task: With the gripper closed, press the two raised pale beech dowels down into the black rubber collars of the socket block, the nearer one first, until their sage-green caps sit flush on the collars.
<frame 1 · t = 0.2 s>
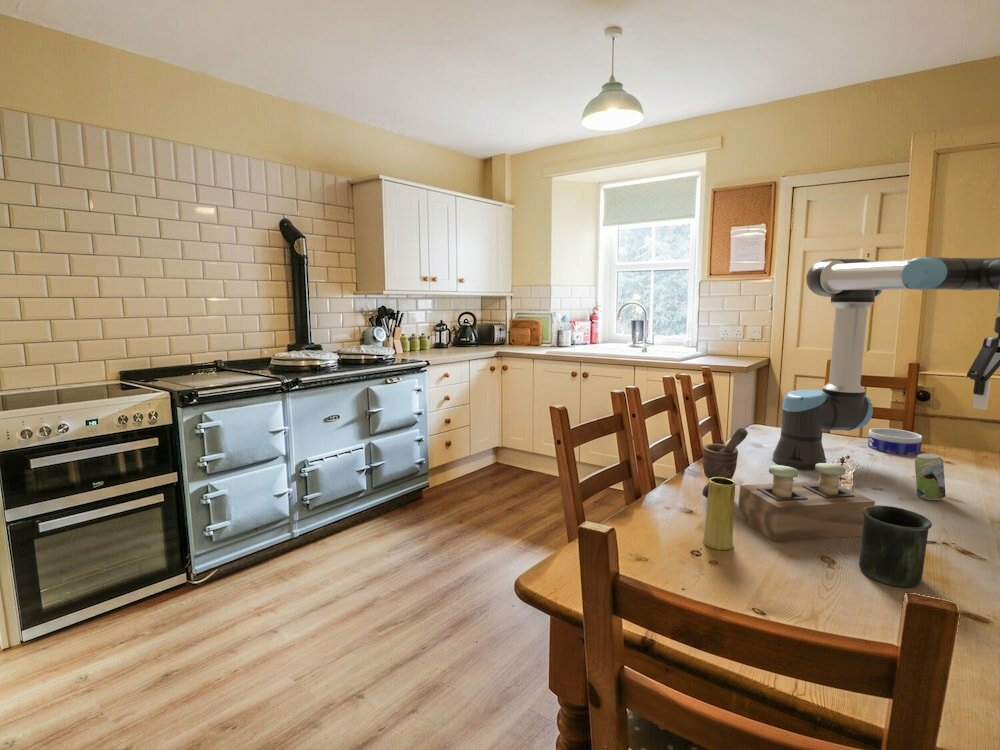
mug: (889, 572, 108), on the table
socket block: (801, 525, 129), on the table
dog bowl: (893, 450, 194), on the table
vase: (717, 545, 119), on the table
mortar and pestle: (723, 497, 147), on the table
peg b: (828, 483, 129), point 10 cm above the table, slide at 0.0 cm
beverage can: (927, 498, 147), on the table
peg a: (782, 486, 127), point 10 cm above the table, slide at 0.0 cm
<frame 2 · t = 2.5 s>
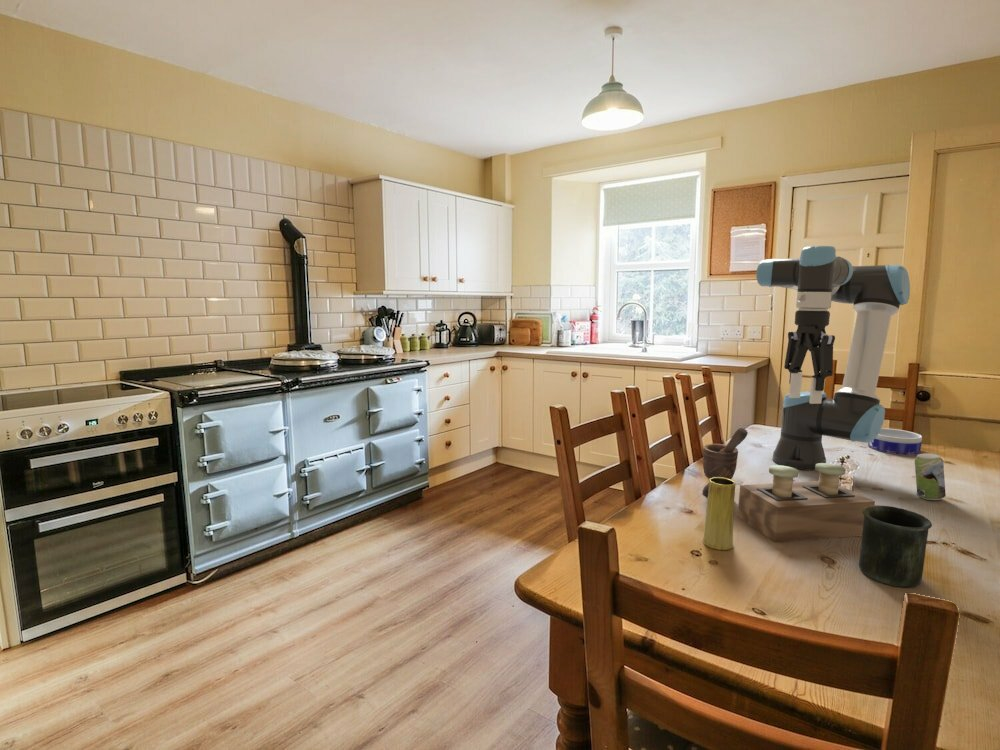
hand: (804, 400, 140), 27 cm above the table, fingers open, 7 cm apart
nothing on the table moved.
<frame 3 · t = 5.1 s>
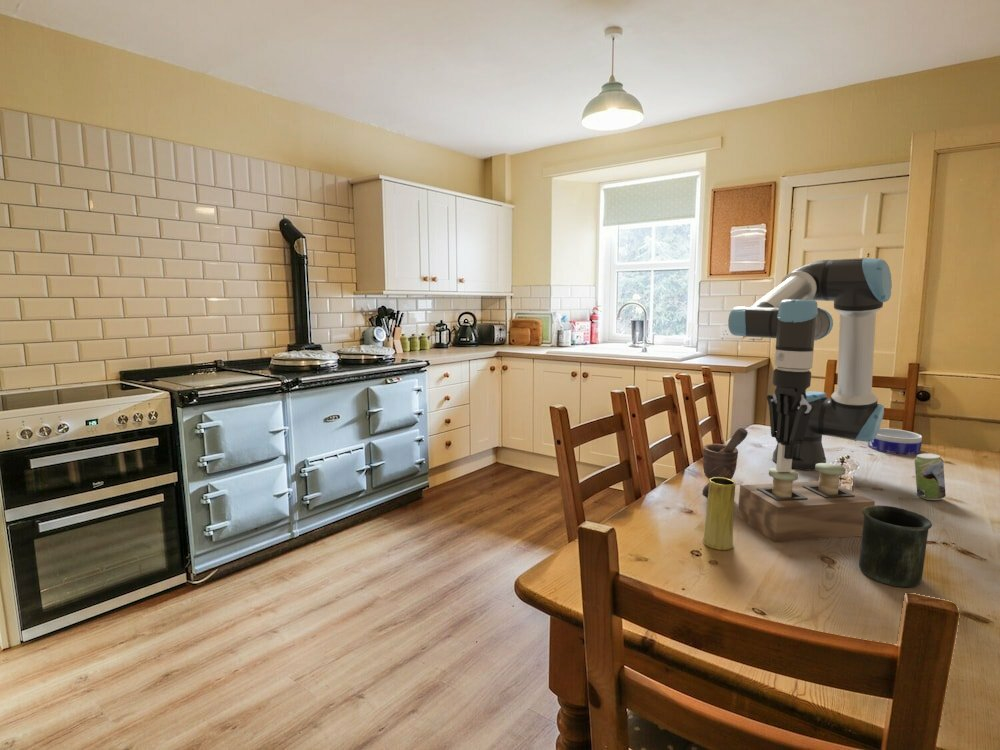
hand: (783, 470, 126), 14 cm above the table, fingers closed
peg a: (782, 488, 127), point 9 cm above the table, slide at 0.6 cm, touching gripper
everything else where it was.
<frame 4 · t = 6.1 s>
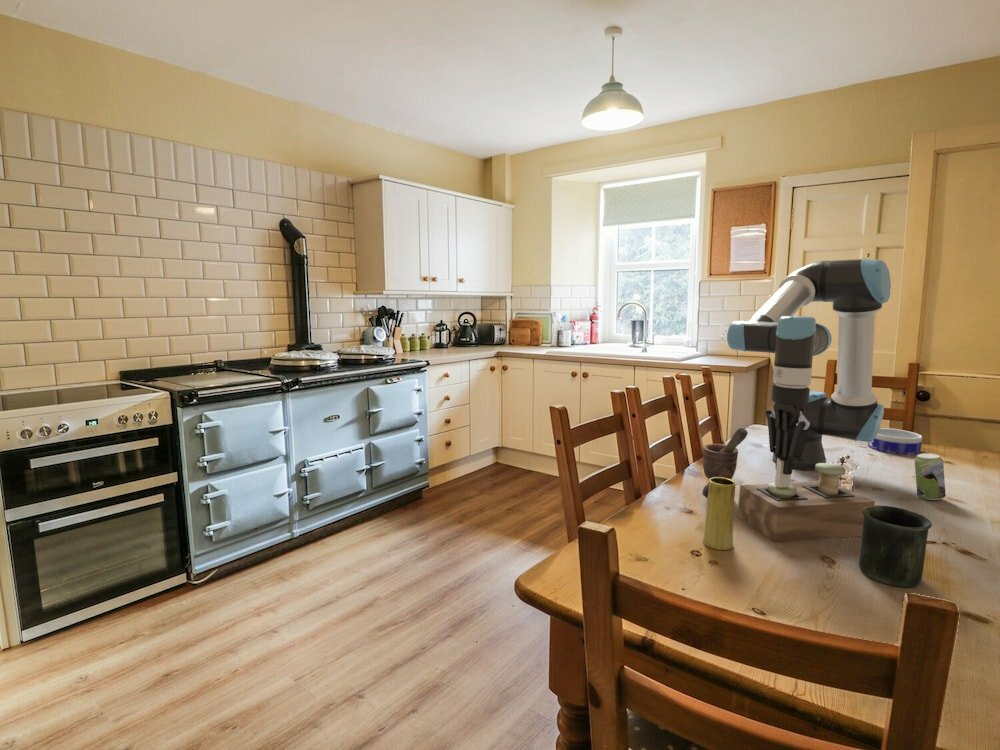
hand: (782, 486, 127), 10 cm above the table, fingers closed
peg a: (780, 503, 127), point 6 cm above the table, slide at 4.3 cm, touching gripper
everything else where it was.
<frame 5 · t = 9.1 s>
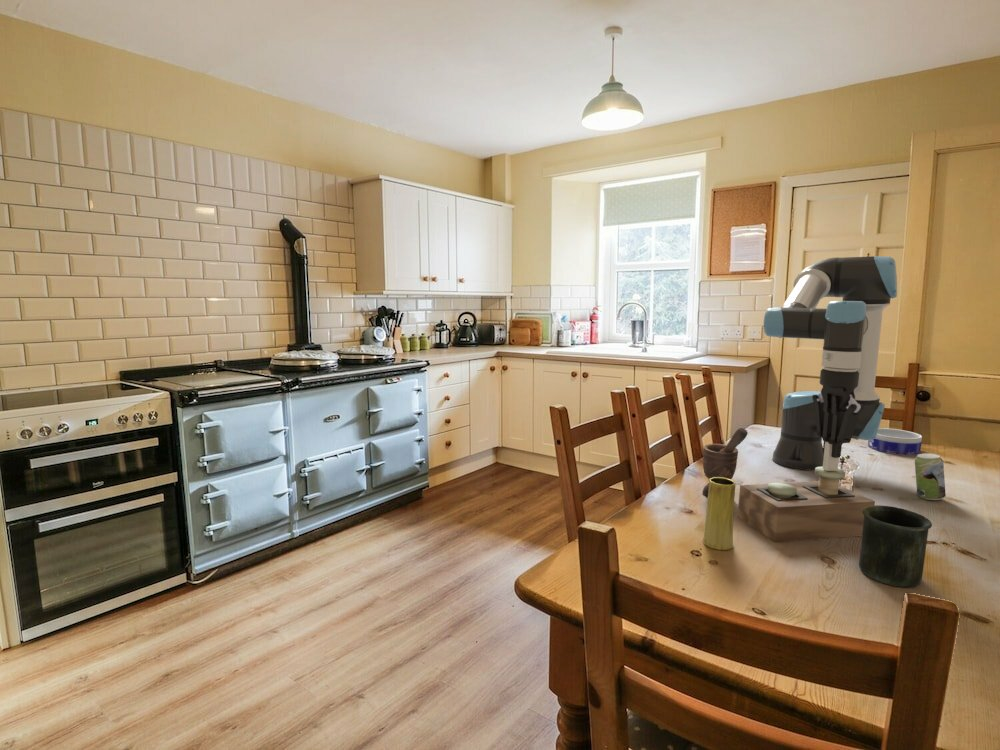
hand: (830, 469, 128), 13 cm above the table, fingers closed
peg b: (828, 486, 129), point 9 cm above the table, slide at 0.9 cm, touching gripper
peg a: (780, 503, 127), point 6 cm above the table, slide at 4.3 cm
everything else where it was.
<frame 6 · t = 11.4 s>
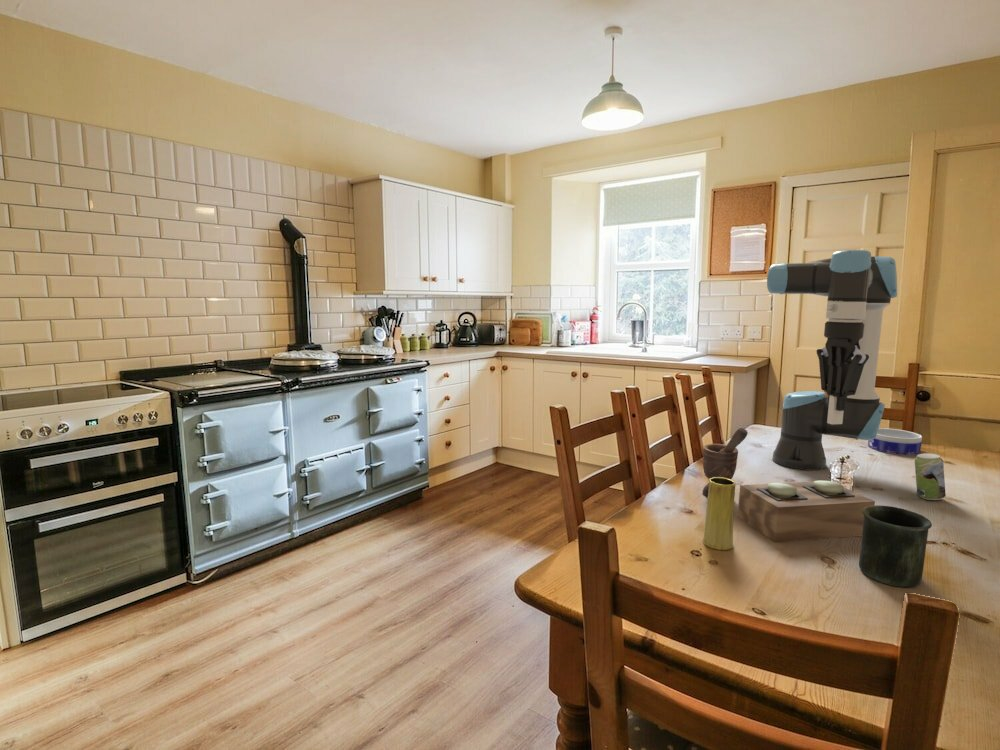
hand: (834, 423, 127), 24 cm above the table, fingers closed
peg b: (826, 500, 129), point 6 cm above the table, slide at 4.3 cm
everything else where it was.
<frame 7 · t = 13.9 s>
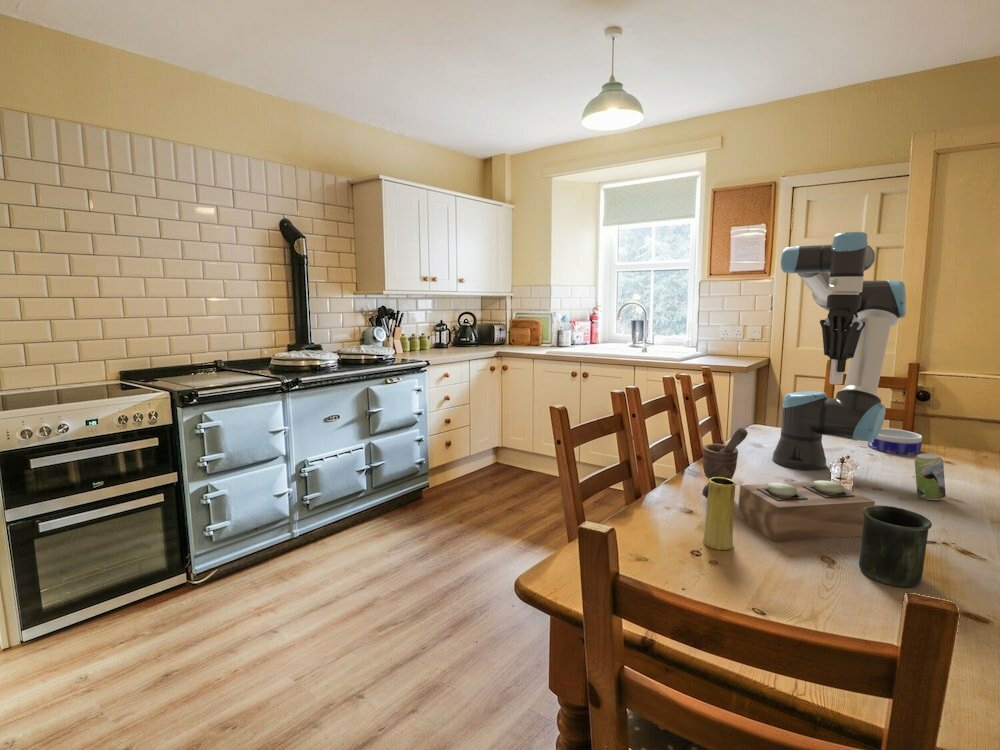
hand: (835, 383, 146), 30 cm above the table, fingers closed
nothing on the table moved.
at the end: peg a slide at 4.3 cm; peg b slide at 4.3 cm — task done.
